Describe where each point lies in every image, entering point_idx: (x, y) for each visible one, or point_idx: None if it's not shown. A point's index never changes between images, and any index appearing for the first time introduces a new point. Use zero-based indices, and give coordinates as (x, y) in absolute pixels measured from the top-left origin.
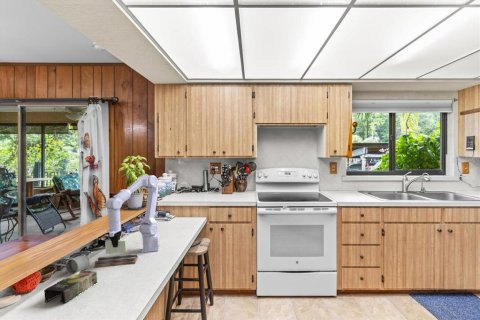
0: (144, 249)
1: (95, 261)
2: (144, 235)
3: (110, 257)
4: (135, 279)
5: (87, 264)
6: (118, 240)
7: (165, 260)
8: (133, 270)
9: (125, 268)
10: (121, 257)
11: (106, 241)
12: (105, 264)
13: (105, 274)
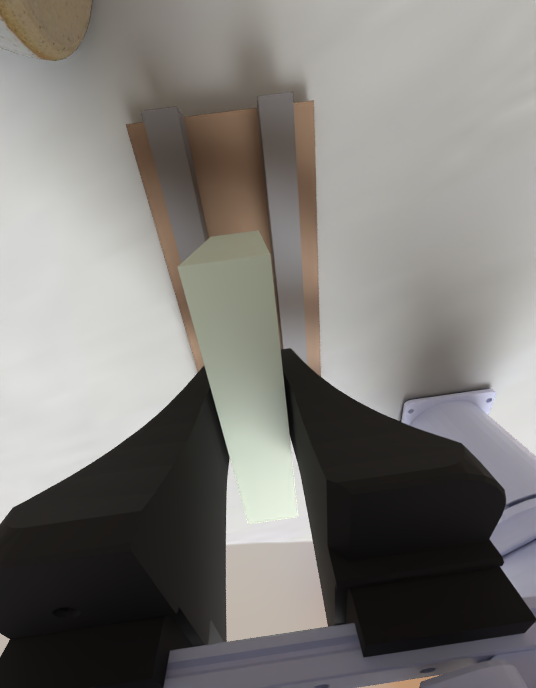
0: (424, 420)
1: (152, 117)
2: (506, 523)
3: (273, 252)
4: (7, 482)
5: (4, 48)
6: (279, 454)
7: (245, 520)
8: (113, 443)
9: (138, 397)
10: (281, 338)
11: (251, 267)
12: (162, 246)
13: (16, 311)
